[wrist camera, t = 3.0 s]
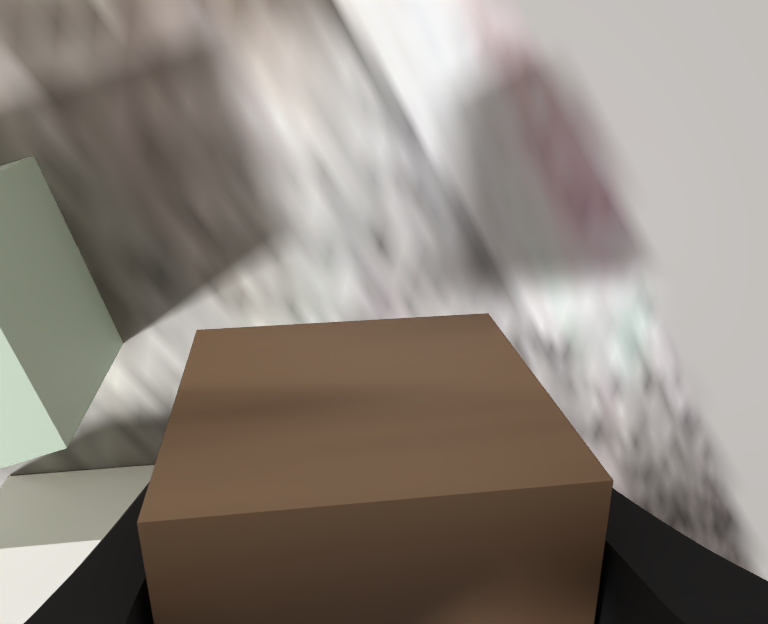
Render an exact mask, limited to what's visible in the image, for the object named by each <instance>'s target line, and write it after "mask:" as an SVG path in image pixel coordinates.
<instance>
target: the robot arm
mask: <svg viewBox="0 0 768 624" xmlns="http://www.w3.org/2000/svg"><path fill="white" fill-rule="evenodd" d="M148 485H149V483H148V484H147V485H146V486H145V488H144V489H143V490H142V491H141V493H140V494H139V495H138V496H137V498H136V499H135V500H134V501H133V503H132V504H131V505H130V506H129V508H128V509H127V510H126V511H125V512H124V514H123V515H122V516H121V517H120V519H119V520H118V521H117V522H116V523H115V525H114V526H113V527H112V528H111V529H110V531H109V532H108V533H107V534H106V535H105V537H104V538H103V539H102V540H101V541H100V542H99V543H98V545H97V546H96V547H95V548H94V549H93V550H92V552H91V553H90V554H89V555H88V556H87V557H86V558H85V560H84V561H83V562H82V563H81V564H80V565H79V566H78V568H77V569H76V570H75V571H74V572H73V573H72V574H71V575H70V576H69V577H68V578H67V579H66V580H65V582H64V583H63V584H62V585H61V586H60V587H59V588H58V589H57V590H56V591H55V592H54V593H53V594H52V595H51V596H50V597H49V598H48V599H47V600H46V601H45V602H44V603H43V604H42V605H41V607H40V608H39V609H38V610H37V611H36V612H35V613H34V614H33V615H32V616H31V617H30V618H29V619H28V620H27V621H26V622H25V623H24V624H154V621H153V615H152V609H151V603H150V597H149V591H148V586H147V580H146V574H145V568H144V562H143V556H142V550H141V544H140V538H139V533H138V527H137V521H138V518H139V514H140V511H141V508H142V505H143V502H144V498H145V495H146V492H147V489H148ZM594 624H768V581H766V580H764V579H762V578H761V577H759V576H757V575H755V574H753V573H751V572H749V571H747V570H745V569H743V568H741V567H739V566H737V565H735V564H734V563H732V562H730V561H728V560H726V559H724V558H722V557H721V556H719V555H717V554H715V553H713V552H712V551H710V550H708V549H706V548H705V547H703V546H701V545H700V544H698V543H696V542H695V541H693V540H691V539H690V538H688V537H687V536H685V535H683V534H682V533H680V532H678V531H677V530H675V529H673V528H672V527H670V526H668V525H667V524H665V523H664V522H662V521H661V520H659V519H658V518H656V517H655V516H653V515H651V514H650V513H648V512H647V511H645V510H644V509H642V508H641V507H639V506H638V505H636V504H635V503H633V502H632V501H630V500H629V499H628V498H626V497H625V496H623V495H622V494H620V493H619V492H617V491H616V490H615V489H613V488H612V494H611V501H610V509H609V516H608V524H607V531H606V538H605V546H604V553H603V560H602V568H601V575H600V583H599V590H598V597H597V605H596V612H595V620H594Z"/></svg>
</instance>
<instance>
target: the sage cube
mask: <svg viewBox="0 0 768 624" xmlns="http://www.w3.org/2000/svg"><path fill="white" fill-rule="evenodd" d="M122 344H123V341H122V339H121V337H120V335H119V333H118V331H117V329H116V327H115V325H114V323H113V320H112V318H111V316H110V314H109V312H108V310H107V308H106V306H105V304H104V302H103V300H102V297H101V295H100V293H99V291H98V289H97V287H96V285H95V283H94V281H93V279H92V277H91V274H90V272H89V270H88V268H87V266H86V264H85V262H84V260H83V258H82V256H81V253H80V251H79V249H78V247H77V245H76V243H75V241H74V239H73V237H72V235H71V233H70V230H69V228H68V226H67V224H66V222H65V220H64V218H63V216H62V214H61V212H60V210H59V207H58V205H57V203H56V201H55V199H54V197H53V195H52V193H51V191H50V189H49V186H48V184H47V182H46V180H45V178H44V176H43V174H42V172H41V170H40V168H39V166H38V163H37V161H36V159H35V157H34V156H31V157H27V158H24V159H21V160H17V161H14V162H11V163H7V164H4V165H1V166H0V469H1V468H4V467H7V466H10V465H14V464H17V463H20V462H24V461H27V460H30V459H33V458H37V457H40V456H43V455H46V454H50V453H53V452H56V451H59V450H63V449H66V448H67V447H68V445H69V443H70V442H71V440H72V438H73V436H74V434H75V432H76V430H77V428H78V427H79V425H80V423H81V421H82V419H83V417H84V415H85V413H86V412H87V410H88V408H89V406H90V404H91V402H92V400H93V399H94V397H95V395H96V393H97V391H98V389H99V387H100V385H101V384H102V382H103V380H104V378H105V376H106V374H107V372H108V371H109V369H110V367H111V365H112V363H113V361H114V359H115V357H116V356H117V354H118V352H119V350H120V348H121V346H122Z"/></svg>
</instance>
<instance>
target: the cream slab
mask: <svg viewBox="0 0 768 624" xmlns="http://www.w3.org/2000/svg"><path fill="white" fill-rule="evenodd" d="M154 466H155V465H145V466H132V467H120V468H107V469H94V470H82V471H69V472H57V473H44V474H31V475H19V476H8V477H7V479H6V480H5V482H4V483H3V485H2V487H1V488H0V624H24V623H25V622H26V621H27V620H28V619H29V618H30V617H31V616H32V615H33V614H34V613H35V612H36V611H37V610H38V609H39V608H40V607H41V605H42V604H43V603H44V602H45V601H46V600H47V599H48V598H49V597H50V596H51V595H52V594H53V593H54V592H55V591H56V590H57V589H58V588H59V587H60V586H61V585H62V584H63V583H64V582H65V580H66V579H67V578H68V577H69V576H70V575H71V574H72V573H73V572H74V571H75V570H76V569H77V568H78V566H79V565H80V564H81V563H82V562H83V561H84V560H85V558H86V557H87V556H88V555H89V554H90V553H91V552H92V550H93V549H94V548H95V547H96V546H97V545H98V543H99V542H100V541H101V540H102V539H103V538H104V537H105V535H106V534H107V533H108V532H109V531H110V529H111V528H112V527H113V526H114V525H115V523H116V522H117V521H118V520H119V519H120V517H121V516H122V515H123V514H124V512H125V511H126V510H127V509H128V508H129V506H130V505H131V504H132V503H133V501H134V500H135V499H136V498H137V496H138V495H139V494H140V493H141V491H142V490H143V489H144V488H145V486H146V485H147V484H148V483H149V482H150V479H151V476H152V473H153V469H154Z"/></svg>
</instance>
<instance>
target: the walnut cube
mask: <svg viewBox="0 0 768 624" xmlns="http://www.w3.org/2000/svg"><path fill="white" fill-rule="evenodd" d="M612 487H613V479H612V478H611V477H610V475H609V474H608V473H607V471H606V470H605V469H604V467H603V466H602V465H601V463H600V462H599V461H598V459H597V458H596V457H595V455H594V454H593V453H592V451H591V450H590V449H589V447H588V446H587V445H586V443H585V442H584V441H583V439H582V438H581V437H580V435H579V434H578V433H577V431H576V430H575V429H574V427H573V426H572V425H571V423H570V422H569V421H568V419H567V418H566V417H565V415H564V414H563V413H562V411H561V410H560V409H559V407H558V406H557V405H556V403H555V402H554V401H553V399H552V398H551V397H550V395H549V394H548V393H547V391H546V390H545V389H544V387H543V386H542V385H541V383H540V382H539V381H538V379H537V378H536V377H535V375H534V374H533V373H532V371H531V370H530V369H529V367H528V366H527V365H526V363H525V362H524V361H523V359H522V358H521V357H520V355H519V354H518V353H517V351H516V350H515V349H514V347H513V346H512V345H511V343H510V342H509V341H508V339H507V338H506V337H505V335H504V334H503V333H502V331H501V330H500V329H499V327H498V326H497V325H496V323H495V322H494V321H493V319H492V318H491V317H490V315H489V314H488V313H486V314H469V315H451V316H434V317H416V318H399V319H381V320H364V321H346V322H329V323H311V324H294V325H276V326H259V327H241V328H224V329H206V330H197V331H196V334H195V337H194V341H193V344H192V347H191V350H190V354H189V357H188V360H187V363H186V366H185V370H184V373H183V376H182V379H181V383H180V386H179V389H178V392H177V395H176V399H175V402H174V405H173V408H172V411H171V415H170V418H169V421H168V424H167V428H166V431H165V434H164V437H163V440H162V444H161V447H160V450H159V453H158V456H157V460H156V463H155V466H154V469H153V473H152V476H151V479H150V482H149V485H148V489H147V492H146V495H145V498H144V502H143V505H142V508H141V511H140V514H139V518H138V521H137V527H138V533H139V538H140V544H141V550H142V556H143V562H144V568H145V574H146V580H147V586H148V591H149V597H150V603H151V609H152V615H153V621H154V624H594V620H595V612H596V605H597V597H598V590H599V583H600V575H601V568H602V560H603V553H604V546H605V538H606V531H607V524H608V516H609V509H610V501H611V494H612Z"/></svg>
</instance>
